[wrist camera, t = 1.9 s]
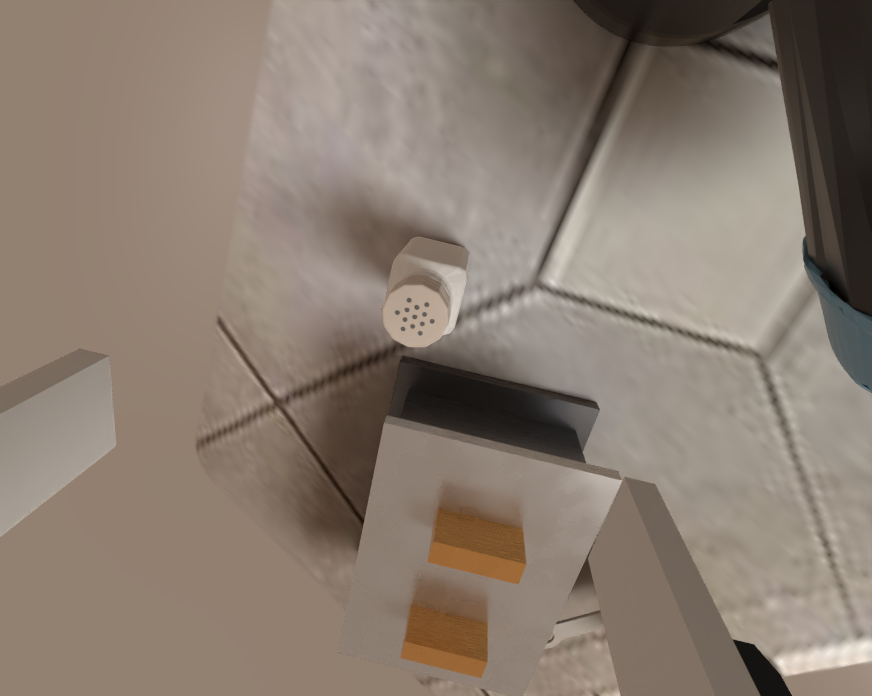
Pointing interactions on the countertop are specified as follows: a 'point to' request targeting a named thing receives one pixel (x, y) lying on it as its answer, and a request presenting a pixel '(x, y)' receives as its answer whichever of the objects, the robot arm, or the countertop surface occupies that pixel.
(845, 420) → the countertop surface
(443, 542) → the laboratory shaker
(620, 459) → the countertop surface
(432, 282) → the pepper shaker
